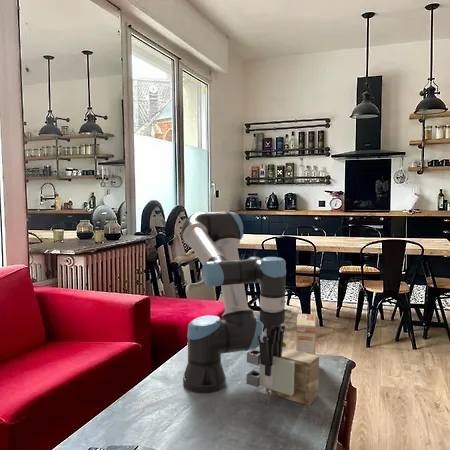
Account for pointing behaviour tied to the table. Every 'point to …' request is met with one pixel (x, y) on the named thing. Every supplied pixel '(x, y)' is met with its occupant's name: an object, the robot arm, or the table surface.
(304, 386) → the cabinet
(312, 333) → the coffeecake box
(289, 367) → the square frame paddle
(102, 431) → the table surface
